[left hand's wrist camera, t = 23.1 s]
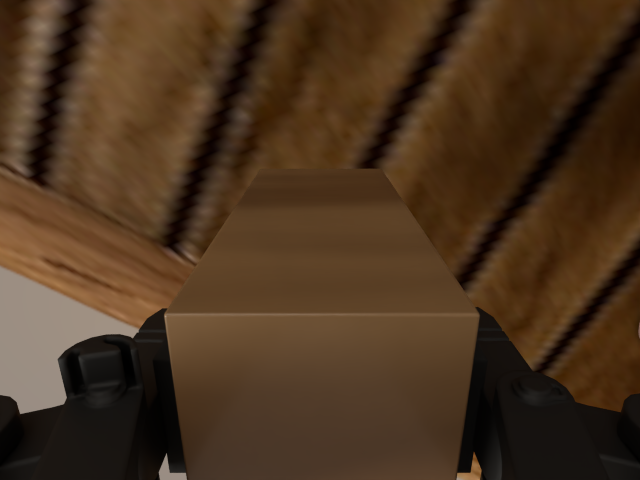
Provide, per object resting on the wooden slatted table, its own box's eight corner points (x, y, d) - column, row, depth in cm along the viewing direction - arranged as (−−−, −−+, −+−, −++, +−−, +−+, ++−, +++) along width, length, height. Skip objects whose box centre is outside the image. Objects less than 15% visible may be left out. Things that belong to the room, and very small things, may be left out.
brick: (260, 168, 17) (162, 313, 6) (382, 168, 17) (481, 314, 6) (266, 312, 19) (201, 595, 8) (374, 312, 19) (440, 596, 8)
